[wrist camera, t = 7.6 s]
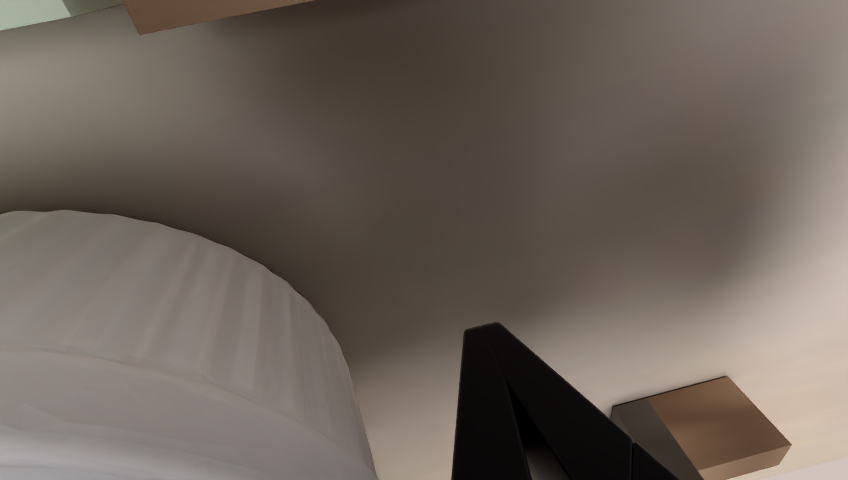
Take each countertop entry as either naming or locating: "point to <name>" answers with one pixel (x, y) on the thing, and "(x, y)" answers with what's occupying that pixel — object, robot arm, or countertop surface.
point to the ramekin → (163, 360)
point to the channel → (642, 420)
